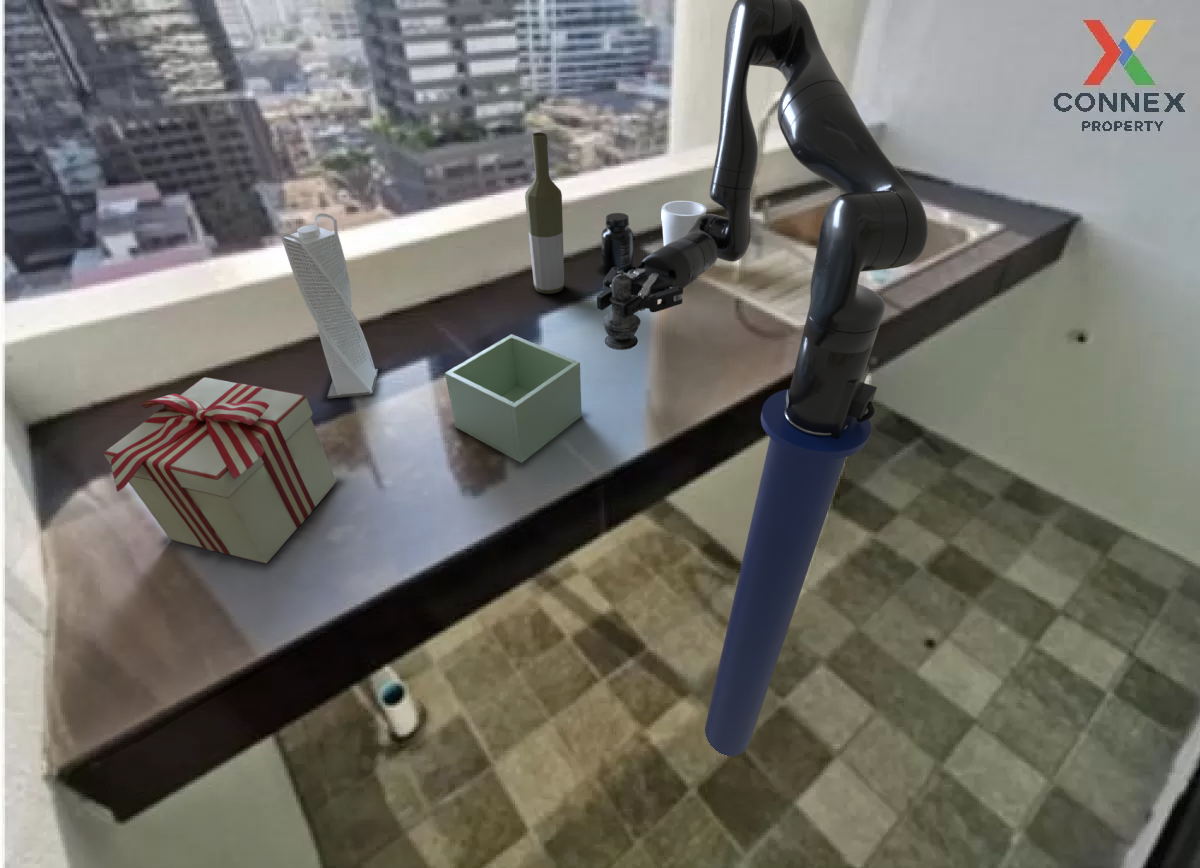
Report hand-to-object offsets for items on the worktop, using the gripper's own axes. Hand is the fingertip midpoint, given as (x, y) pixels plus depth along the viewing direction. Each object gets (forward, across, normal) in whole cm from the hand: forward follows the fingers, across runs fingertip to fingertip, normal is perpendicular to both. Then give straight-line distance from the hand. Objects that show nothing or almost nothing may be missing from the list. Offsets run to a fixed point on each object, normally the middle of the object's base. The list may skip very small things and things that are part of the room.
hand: (610, 307), depth 89 cm
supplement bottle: (-38, -26, +15) cm, 48 cm away
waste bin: (+15, -6, +15) cm, 22 cm away
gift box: (+50, -19, +15) cm, 56 cm away
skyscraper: (+24, -34, +15) cm, 44 cm away
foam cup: (-48, -16, +15) cm, 53 cm away
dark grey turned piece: (-3, 0, +7) cm, 8 cm away
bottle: (-22, -32, +15) cm, 42 cm away
